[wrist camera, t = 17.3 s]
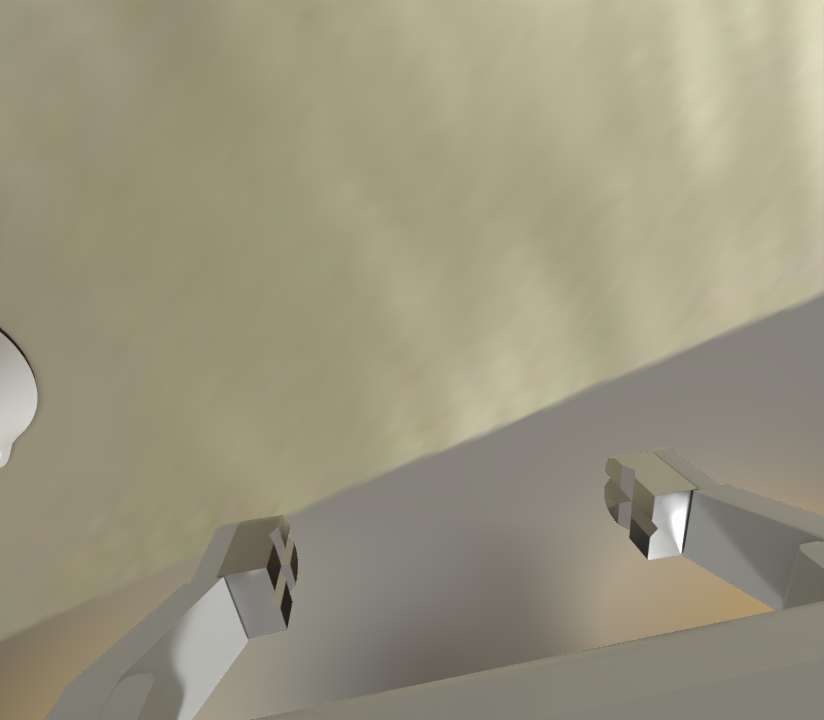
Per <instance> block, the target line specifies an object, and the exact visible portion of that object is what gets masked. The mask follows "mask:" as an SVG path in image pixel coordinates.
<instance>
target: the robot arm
mask: <svg viewBox="0 0 824 720" xmlns="http://www.w3.org/2000/svg"><path fill="white" fill-rule="evenodd" d="M36 406H37V388H36V383H35V380H34V377H33V374H32V372H31V369H30V367H29V365H28V364H27V362H26V360H25V359H24V357H23V356H22V354H21V353H20V352H19V350H18V349H17V348H16V347H15V346H14V345H13V343H12V342H11V341H10V340H9V339H8V338H7V337H6V336H4V335H3V334H2V333H1V332H0V468H1V467H3V466H4V465H5V464H6V463H7V461H8V459H9V456H10V451H11V446H12V443H13V442H14V441H15V439H16V438H17V437H18V436H19V435H20V434H21V433H22V432H23V431H24V430H25V429H26V428H27V427H28V425H29V424H30V422H31V421H32V419H33V417H34V414H35V411H36ZM605 472H606V473H607V474H608V476H609V477H610V479H609V481H608V482H607V484H606V485H605V486H604V499H605V502H606V506H607V509H608V510H609V512H610V514H611V516H612V517H613V519H614V520H615V521H616V522H617V524H619V525H621V526H623V527H625V528H627V529H629V530H630V534H629V538H630V539H631V540H632V542H633V543H634V544H635V545H636V547H637V548H638V549H639V550H640V551H641V553H642V554H643V555H644V556H645V557H646V559H648V560H650V559H656V558H663V557H669V556H675V555H681V554H683V556H684V557H686V558H687V559H689V560H691V561H692V562H694V563H696V564H698V565H699V566H701V567H703V568H705V569H706V570H708V571H709V572H711V573H713V574H715V575H716V576H718V577H720V578H721V579H723V580H725V581H726V582H728V583H730V584H732V585H734V586H735V587H737V588H738V589H740V590H742V591H744V592H745V593H747V594H749V595H750V596H752V597H754V598H756V599H757V600H759V601H761V602H762V603H764V604H766V605H767V606H769V607H771V608H772V609H774V610H776V611H772V612H767V613H762V614H757V615H753V616H748V617H743V618H738V619H733V620H728V621H724V622H719V623H714V624H709V625H705V626H699V627H694V628H690V629H685V630H680V631H675V632H670V633H666V634H661V635H656V636H651V637H646V638H641V639H637V640H632V641H627V642H622V643H618V644H613V645H608V646H603V647H598V648H593V649H588V650H584V651H579V652H574V653H570V654H564V655H560V656H555V657H550V658H545V659H540V660H536V661H531V662H526V663H521V664H516V665H512V666H507V667H502V668H497V669H492V670H488V671H483V672H478V673H473V674H468V675H463V676H459V677H454V678H449V679H444V680H439V681H434V682H430V683H425V684H420V685H415V686H411V687H405V688H400V689H396V690H391V691H386V692H381V693H376V694H372V695H367V696H362V697H357V698H352V699H347V700H342V701H338V702H333V703H328V704H323V705H318V706H313V707H309V708H304V709H299V710H294V711H290V712H285V713H280V714H275V715H270V716H266V717H261V718H256V719H252V720H824V516H822V515H819V514H816V513H813V512H810V511H807V510H804V509H801V508H798V507H795V506H792V505H789V504H785V503H783V502H780V501H776V500H773V499H770V498H767V497H764V496H761V495H758V494H755V493H752V492H749V491H746V490H743V489H739V488H737V487H733V486H731V485H727V484H726V485H720V484H718V483H717V482H715V481H714V480H713V479H712V478H710V477H709V476H707V475H706V474H705V473H704V472H702V471H701V470H700V469H698V468H697V467H695V466H694V465H693V464H691V463H690V462H689V461H687V460H686V459H685V458H683V457H682V456H681V455H679V454H678V453H677V452H675V451H674V450H673V449H671V448H667V447H663V448H658V449H653V450H648V451H646V452H640V453H635V454H629V455H623V456H618V457H612V458H608V460H607V462H606V469H605ZM289 531H290V526H289V523H288V520H287V517H286V516H284V515H280V516H274V517H267V518H261V519H254V520H247V521H242V522H236V523H230V524H224V525H221V526H219V527H218V528H217V529H216V531H215V533H214V535H213V537H212V539H211V541H210V543H209V545H208V548H207V550H206V552H205V554H204V556H203V558H202V560H201V562H200V564H199V566H198V568H197V571H196V572H195V575H194V577H193V579H192V581H191V583H187V584H183V585H182V586H181V587H180V588H179V589H177V590H176V591H175V592H174V593H173V594H172V595H171V596H170V597H168V598H167V599H166V600H165V601H164V602H163V603H161V604H160V605H159V606H158V607H157V608H156V609H154V611H152V612H151V613H150V614H149V615H148V616H146V617H145V618H144V619H143V620H142V621H141V622H139V623H138V624H137V625H136V626H135V627H134V628H133V629H131V630H130V631H129V632H128V633H127V634H126V635H124V636H123V637H122V638H121V639H120V640H119V641H118V642H117V643H115V644H114V645H113V646H112V647H111V648H110V649H108V650H107V651H106V652H105V653H104V654H103V655H101V656H100V657H99V658H98V659H97V660H96V661H95V662H93V663H92V664H91V665H90V666H89V667H88V668H87V669H85V670H84V671H83V672H82V673H81V674H80V675H78V676H77V677H76V678H75V679H74V680H73V681H72V682H70V683H69V684H68V685H67V686H66V687H65V689H64V690H63V692H62V693H61V695H60V697H59V698H58V700H57V701H56V703H55V704H54V706H53V707H52V709H51V710H50V712H49V714H48V715H47V717H46V718H45V720H192V719H193V717H194V716H195V715H196V713H197V712H198V710H199V709H200V708H201V706H202V705H203V703H204V702H205V700H206V699H207V698H208V696H209V695H210V694H211V692H212V691H213V689H214V688H215V687H216V685H217V684H218V682H219V681H220V680H221V678H222V677H223V675H224V674H225V673H226V671H227V670H228V668H229V667H230V666H231V664H232V663H233V661H234V660H235V659H236V657H237V656H238V654H239V653H240V652H241V650H242V649H243V647H244V646H245V645H246V643H247V642H248V639H249V638H253V637H257V636H262V635H267V634H271V633H276V632H280V631H284V630H287V628H288V623H289V618H290V613H291V608H292V602H293V601H292V598H291V595H290V591H291V590H292V588H293V587H294V586H295V585H296V581H297V574H298V558H297V550H296V546H295V543H294V542H293V541H292V540H291V539H289V538H288V535H289Z"/></svg>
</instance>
